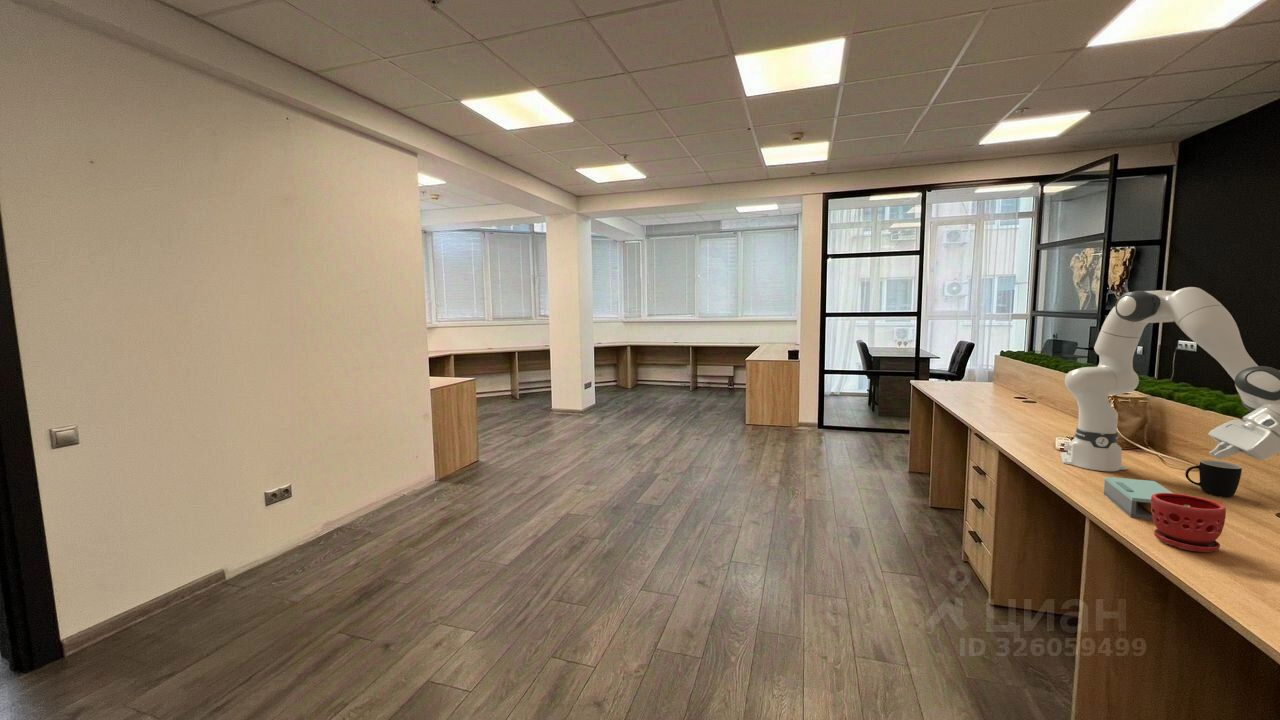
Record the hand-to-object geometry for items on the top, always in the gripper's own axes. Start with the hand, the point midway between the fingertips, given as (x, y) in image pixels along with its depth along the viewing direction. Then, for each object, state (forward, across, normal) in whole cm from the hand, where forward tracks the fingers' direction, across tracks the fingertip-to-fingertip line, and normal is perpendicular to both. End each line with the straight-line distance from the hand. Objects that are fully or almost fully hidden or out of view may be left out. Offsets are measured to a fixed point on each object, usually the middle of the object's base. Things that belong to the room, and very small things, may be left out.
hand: (1213, 456), depth 142 cm
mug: (+5, -29, +23) cm, 38 cm away
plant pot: (+23, +23, +3) cm, 33 cm away
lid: (+19, -3, 0) cm, 19 cm away
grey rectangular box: (+23, -3, +4) cm, 23 cm away
